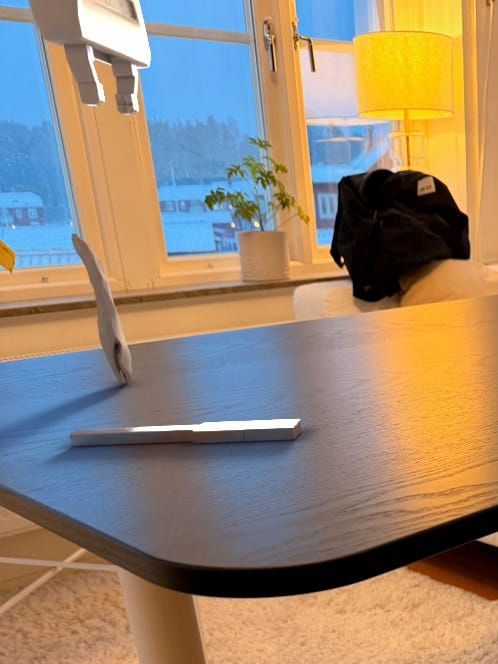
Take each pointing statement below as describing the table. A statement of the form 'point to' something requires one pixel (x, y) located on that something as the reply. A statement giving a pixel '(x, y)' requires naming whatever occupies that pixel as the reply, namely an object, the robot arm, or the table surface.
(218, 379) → the table surface
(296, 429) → the grey long bar
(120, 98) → the robot arm
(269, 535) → the table surface
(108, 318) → the stone tool
